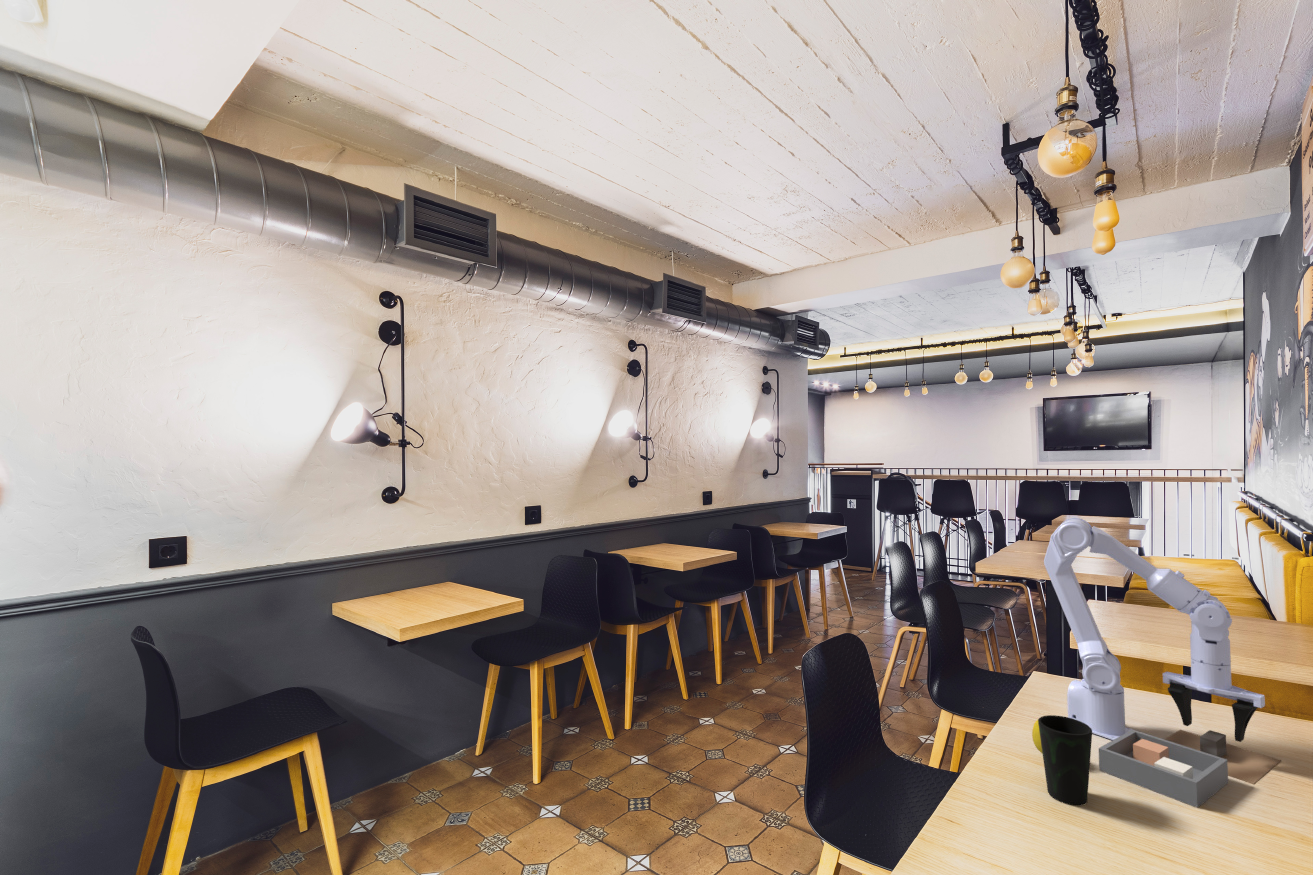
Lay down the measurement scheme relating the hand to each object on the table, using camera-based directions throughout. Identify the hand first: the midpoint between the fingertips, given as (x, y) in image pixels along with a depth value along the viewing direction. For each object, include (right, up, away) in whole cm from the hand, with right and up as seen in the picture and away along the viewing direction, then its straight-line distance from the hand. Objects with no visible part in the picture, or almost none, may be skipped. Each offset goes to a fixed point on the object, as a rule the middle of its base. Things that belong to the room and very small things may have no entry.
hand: (1212, 731), depth 116 cm
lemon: (-32, -5, -1) cm, 32 cm away
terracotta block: (-15, -4, -4) cm, 16 cm away
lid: (0, -5, 0) cm, 5 cm away
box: (-16, -4, -8) cm, 19 cm away
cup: (-37, -5, -14) cm, 40 cm away
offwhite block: (-17, -3, -11) cm, 21 cm away
